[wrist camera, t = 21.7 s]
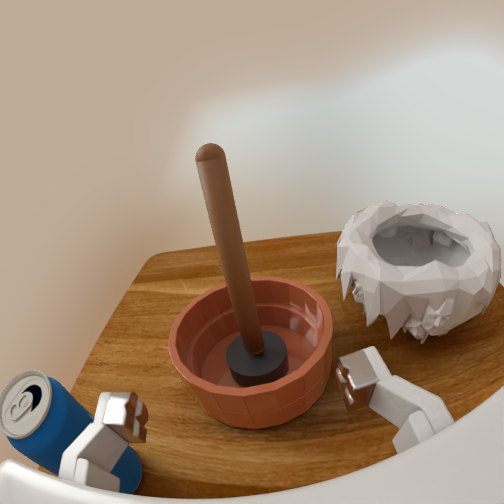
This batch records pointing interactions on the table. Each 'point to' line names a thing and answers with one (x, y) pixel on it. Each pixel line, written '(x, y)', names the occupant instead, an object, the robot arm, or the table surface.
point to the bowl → (418, 266)
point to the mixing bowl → (226, 330)
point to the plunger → (238, 279)
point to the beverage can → (53, 425)
